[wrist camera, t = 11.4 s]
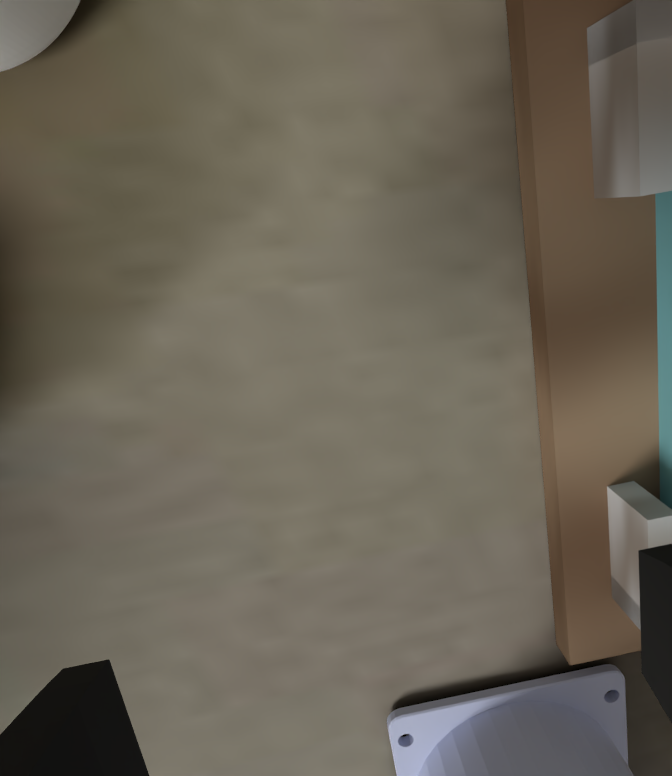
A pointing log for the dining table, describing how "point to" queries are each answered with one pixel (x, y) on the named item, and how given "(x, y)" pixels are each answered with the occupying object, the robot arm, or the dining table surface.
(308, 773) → the dining table surface
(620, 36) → the wooden bracket tray
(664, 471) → the teal rectangular block
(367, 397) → the dining table surface
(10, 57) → the beverage can
